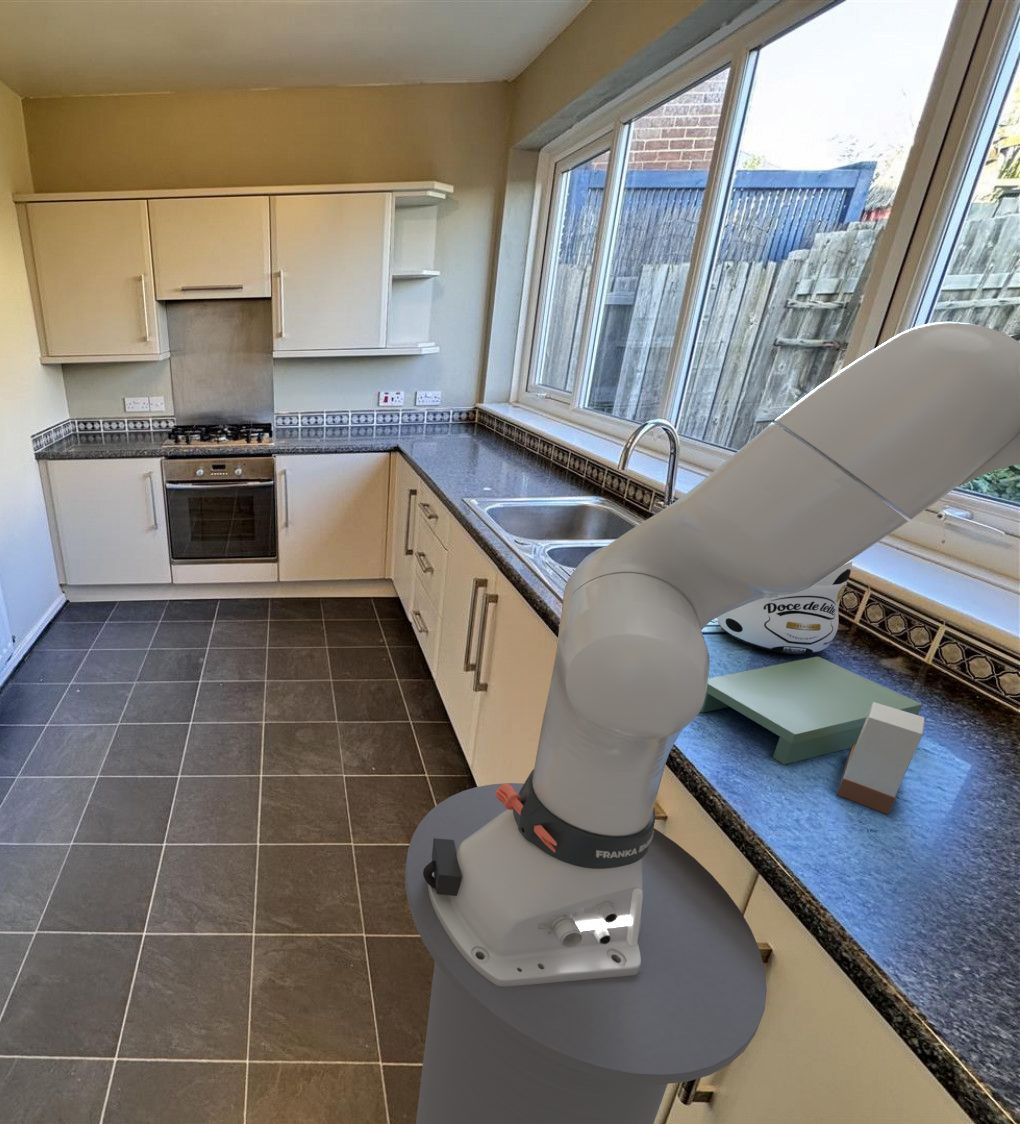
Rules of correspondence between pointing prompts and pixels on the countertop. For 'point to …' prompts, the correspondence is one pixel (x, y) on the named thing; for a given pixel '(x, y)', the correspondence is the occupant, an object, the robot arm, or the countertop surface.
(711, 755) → the countertop surface
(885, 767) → the grey-brown block
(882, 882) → the countertop surface
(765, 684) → the shoe shelf
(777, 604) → the doce de leite container
